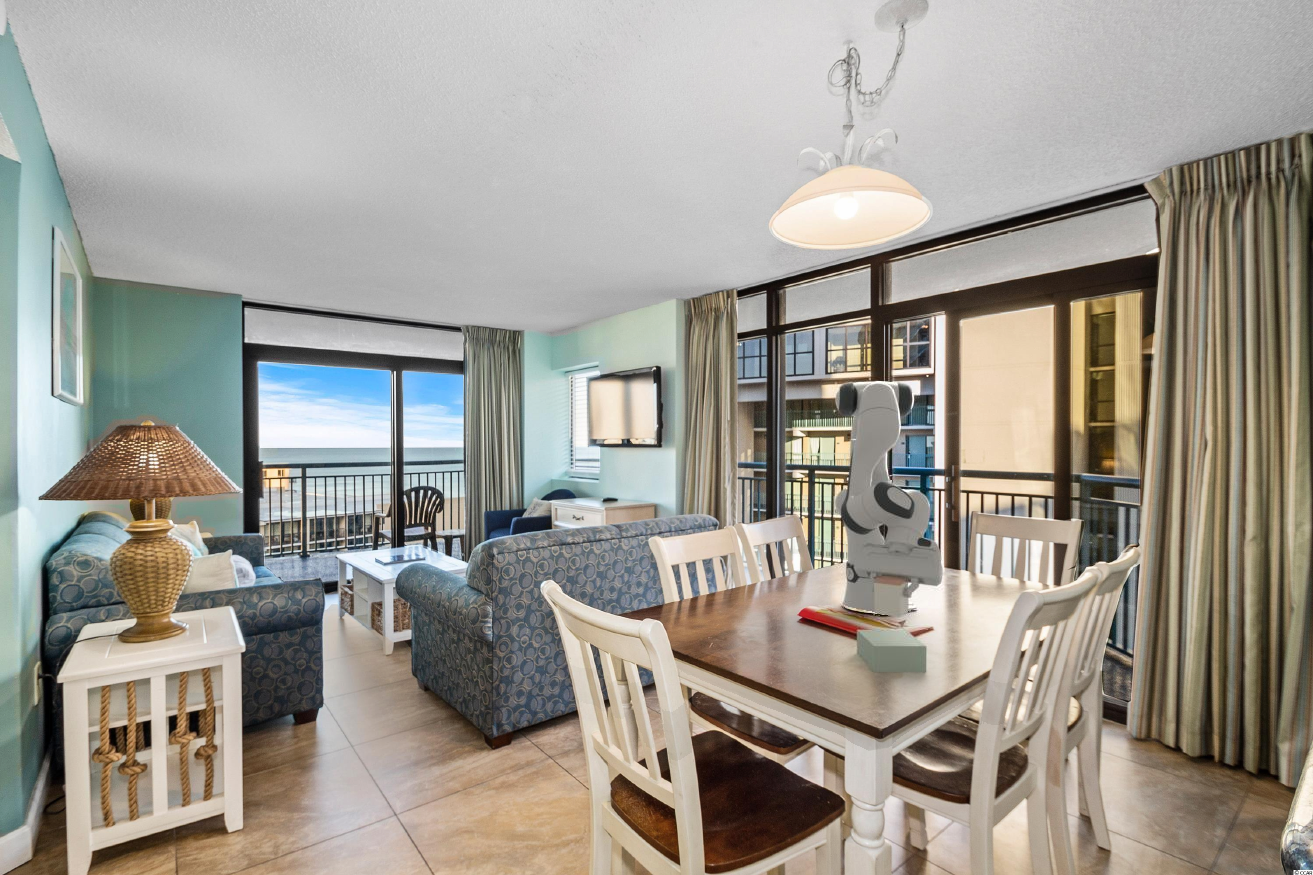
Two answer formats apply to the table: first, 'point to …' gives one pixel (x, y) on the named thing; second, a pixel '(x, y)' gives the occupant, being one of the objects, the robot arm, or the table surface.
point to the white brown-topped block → (890, 595)
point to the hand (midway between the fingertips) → (890, 593)
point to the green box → (891, 651)
